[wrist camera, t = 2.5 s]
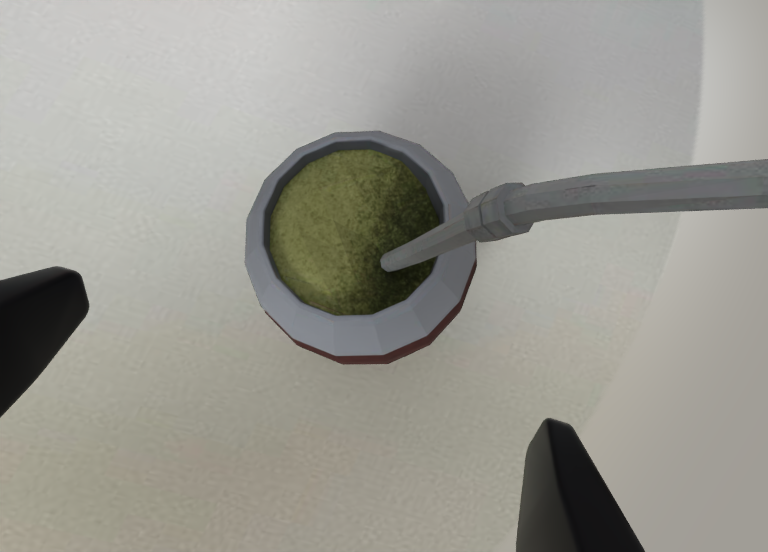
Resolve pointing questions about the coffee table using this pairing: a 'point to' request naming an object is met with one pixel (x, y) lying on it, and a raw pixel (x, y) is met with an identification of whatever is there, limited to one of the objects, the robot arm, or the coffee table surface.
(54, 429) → the coffee table surface
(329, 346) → the mate gourd
